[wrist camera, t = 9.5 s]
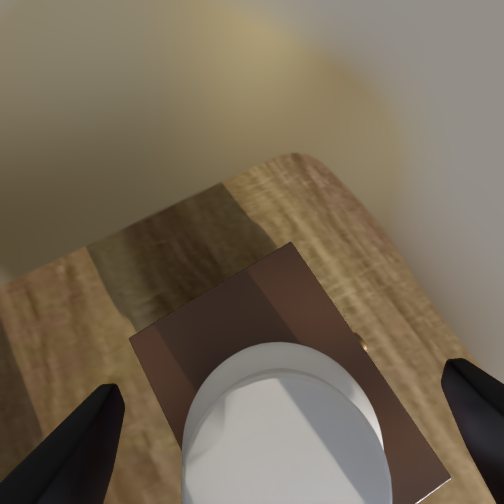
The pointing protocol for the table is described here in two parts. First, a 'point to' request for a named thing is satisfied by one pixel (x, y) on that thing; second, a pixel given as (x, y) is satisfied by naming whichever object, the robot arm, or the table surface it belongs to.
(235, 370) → the pill bottle
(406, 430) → the cabinet
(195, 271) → the table surface
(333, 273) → the table surface
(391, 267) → the table surface
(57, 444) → the robot arm
